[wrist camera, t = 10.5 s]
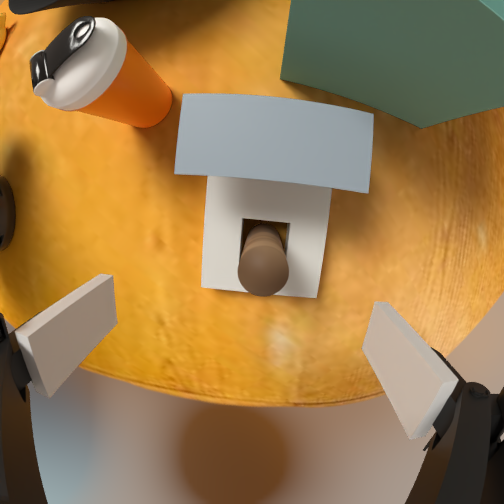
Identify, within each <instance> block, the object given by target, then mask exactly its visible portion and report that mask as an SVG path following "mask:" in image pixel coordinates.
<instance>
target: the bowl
mask: <svg viewBox="0 0 504 504" xmlns="http://www.w3.org/2000/svg"><path fill="white" fill-rule="evenodd" d="M109 1H114V0H9V8H10V10H11V11H12V12H13V13H14V14H19V15H21V14H28V13H33V12H37V11H42V10H47V9H52V8H58V7H64V6H71V5H80V4H89V3H102V2H109Z"/></svg>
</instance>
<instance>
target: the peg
mask: <svg viewBox="0 0 504 504" xmlns="http://www.w3.org/2000/svg"><path fill="white" fill-rule="evenodd" d="M237 273H238V279H239V281H240V283H241V285H242V286H243V288H244V289H245V290H247V291H248V292H249V293H251V294H253V295H257V296H270V295H273V294H275V293H277V292H279V291H280V290H281V289H282V288H283V287H284V286H285V284H286V282H287V280H288V277H289V267H288V263H287V260H286V256H285V253H284V250H283V246H282V243H281V240H280V237H279V234H278V231H277V230H276V228H275V227H274V226H272V225H270V224H268V223H259V224H256V225H255V226H253V227H252V228H251V229H250V231H249V233H248V236H247V239H246V243H245V246H244V249H243V252H242V255H241V259H240V262H239V265H238V271H237Z"/></svg>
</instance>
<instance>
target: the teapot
mask: <svg viewBox="0 0 504 504" xmlns="http://www.w3.org/2000/svg"><path fill="white" fill-rule="evenodd" d="M5 21H6V13H0V51H1V49H2V47H3V45H4V42H5V40H6V27H5Z"/></svg>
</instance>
